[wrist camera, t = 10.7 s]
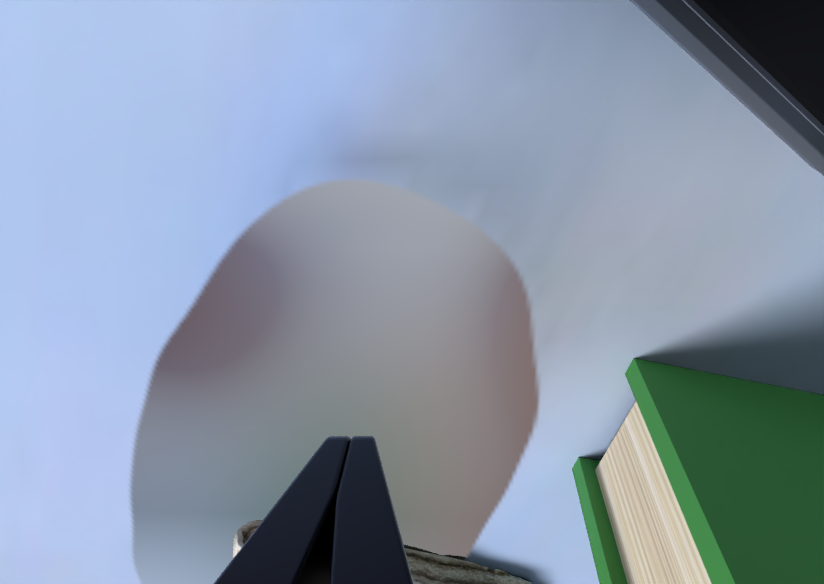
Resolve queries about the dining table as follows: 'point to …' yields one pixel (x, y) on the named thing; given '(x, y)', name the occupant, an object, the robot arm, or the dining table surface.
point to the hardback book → (708, 483)
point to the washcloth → (423, 565)
